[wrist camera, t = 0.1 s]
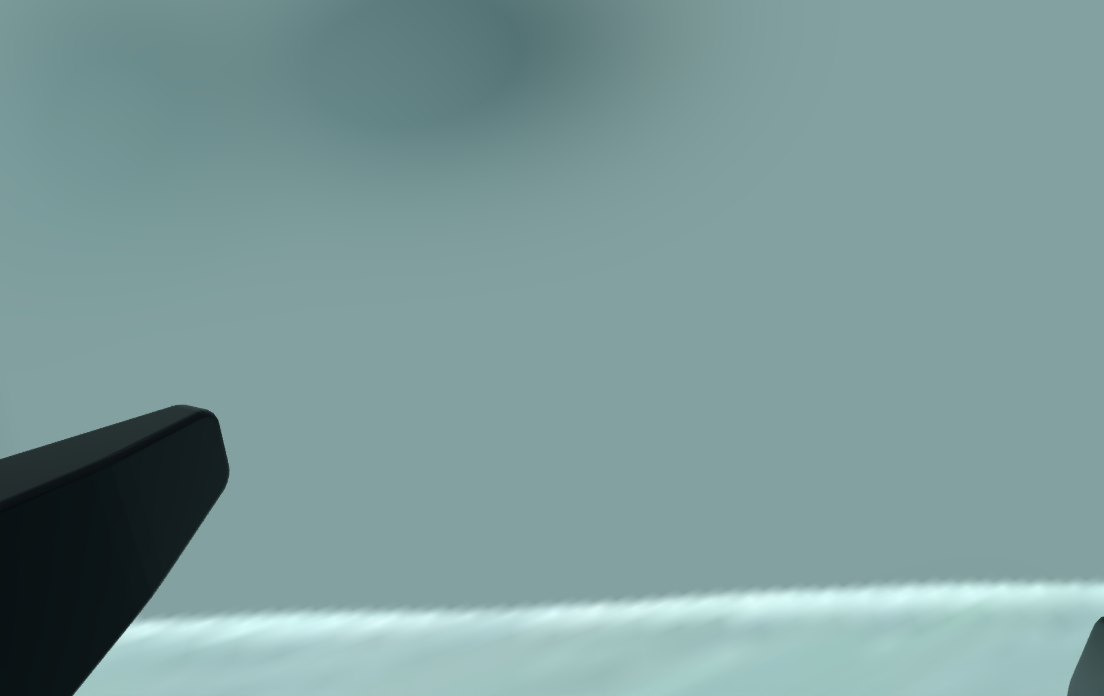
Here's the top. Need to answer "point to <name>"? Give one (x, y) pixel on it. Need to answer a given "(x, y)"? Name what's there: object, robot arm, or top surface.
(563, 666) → the top surface
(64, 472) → the robot arm
